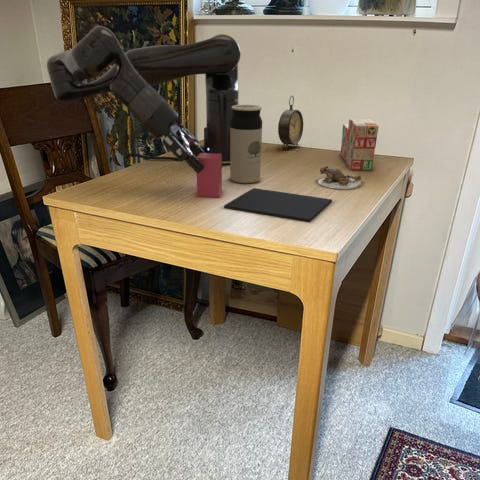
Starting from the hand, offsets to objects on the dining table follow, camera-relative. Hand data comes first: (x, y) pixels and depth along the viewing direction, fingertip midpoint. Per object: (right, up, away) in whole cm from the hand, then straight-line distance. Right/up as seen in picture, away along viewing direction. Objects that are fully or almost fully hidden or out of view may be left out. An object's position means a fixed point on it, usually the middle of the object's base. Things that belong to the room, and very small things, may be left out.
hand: (204, 166), depth 116 cm
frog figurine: (+34, 0, +14) cm, 37 cm away
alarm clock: (+25, +23, +53) cm, 63 cm away
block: (+1, -6, +3) cm, 7 cm away
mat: (+17, -10, -3) cm, 20 cm away
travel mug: (+10, +1, +15) cm, 18 cm away
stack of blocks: (+44, +12, +36) cm, 57 cm away
